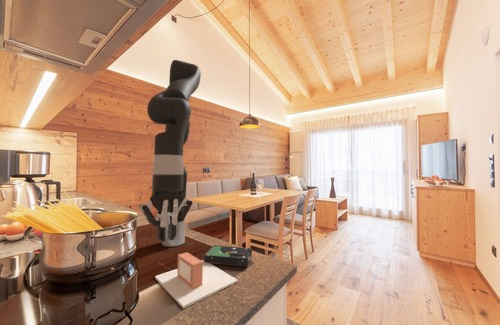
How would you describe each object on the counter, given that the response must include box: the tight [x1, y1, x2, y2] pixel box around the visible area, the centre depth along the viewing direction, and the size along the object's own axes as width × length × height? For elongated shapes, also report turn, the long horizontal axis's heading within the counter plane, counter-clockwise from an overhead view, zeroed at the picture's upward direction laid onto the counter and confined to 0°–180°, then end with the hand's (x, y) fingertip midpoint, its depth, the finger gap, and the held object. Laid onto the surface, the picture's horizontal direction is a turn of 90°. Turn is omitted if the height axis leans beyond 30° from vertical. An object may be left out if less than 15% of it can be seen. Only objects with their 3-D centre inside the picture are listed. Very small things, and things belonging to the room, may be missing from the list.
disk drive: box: [203, 244, 253, 267], centre depth 71 cm, size 10×3×15 cm
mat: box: [154, 259, 239, 310], centre depth 57 cm, size 18×16×1 cm
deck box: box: [177, 251, 203, 289], centre depth 56 cm, size 9×3×6 cm, turn 44°
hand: (166, 240), depth 52 cm, fingers closed
